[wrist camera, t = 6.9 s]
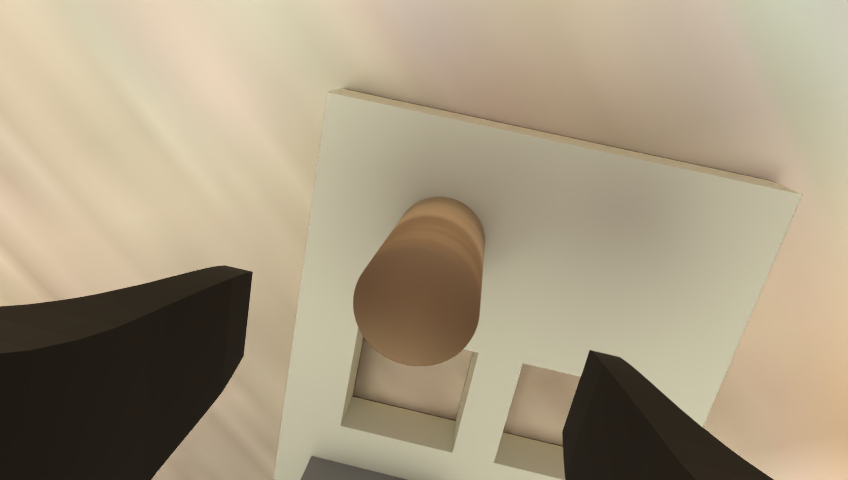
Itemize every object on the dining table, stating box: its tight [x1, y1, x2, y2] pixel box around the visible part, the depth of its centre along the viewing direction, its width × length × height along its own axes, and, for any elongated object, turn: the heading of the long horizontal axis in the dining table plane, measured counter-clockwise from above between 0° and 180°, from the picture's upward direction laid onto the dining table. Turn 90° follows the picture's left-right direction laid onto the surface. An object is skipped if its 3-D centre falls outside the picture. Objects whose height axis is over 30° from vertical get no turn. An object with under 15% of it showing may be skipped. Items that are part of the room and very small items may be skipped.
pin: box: [353, 197, 485, 366], centre depth 16 cm, size 3×3×6 cm
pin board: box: [273, 89, 802, 480], centre depth 21 cm, size 20×15×5 cm
